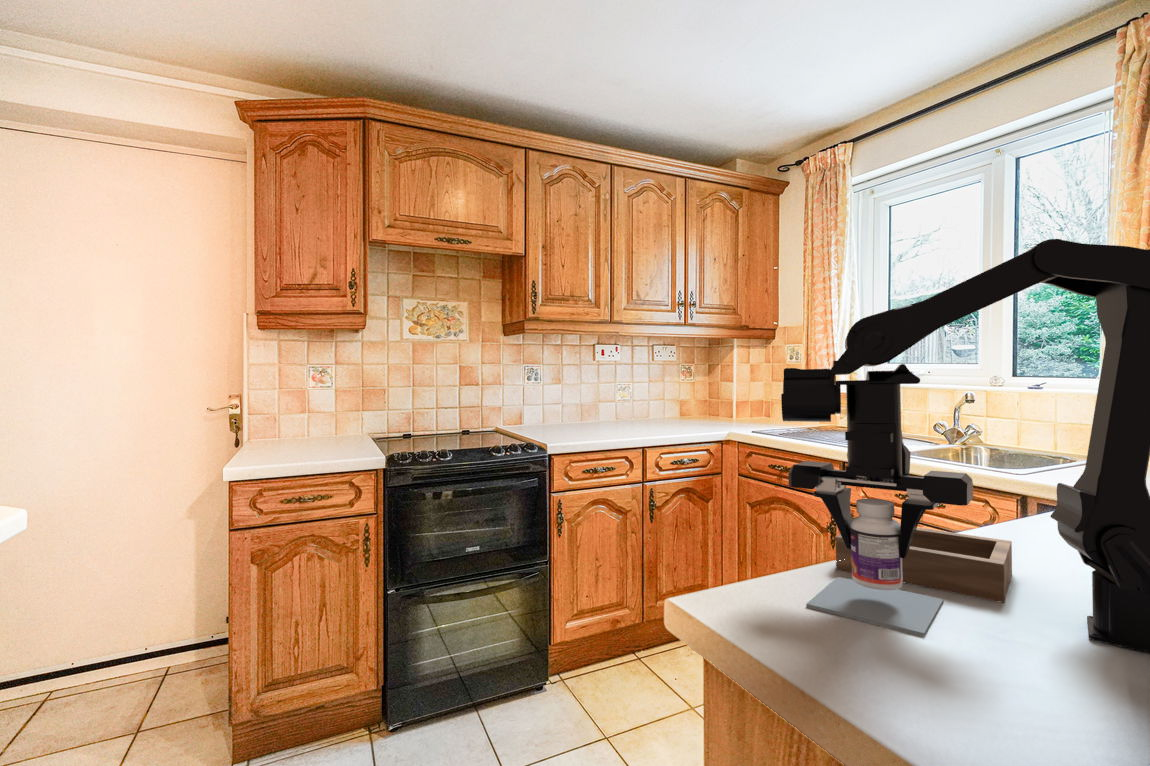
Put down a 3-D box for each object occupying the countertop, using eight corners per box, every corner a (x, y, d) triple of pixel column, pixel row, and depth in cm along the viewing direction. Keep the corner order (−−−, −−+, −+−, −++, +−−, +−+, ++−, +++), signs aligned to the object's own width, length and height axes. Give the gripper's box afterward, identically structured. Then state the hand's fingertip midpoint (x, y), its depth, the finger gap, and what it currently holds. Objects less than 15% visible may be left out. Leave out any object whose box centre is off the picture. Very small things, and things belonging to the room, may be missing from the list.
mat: (924, 637, 57) (924, 633, 57) (806, 607, 65) (806, 603, 65) (943, 602, 66) (943, 599, 66) (837, 579, 74) (837, 576, 74)
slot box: (1004, 602, 66) (1003, 564, 66) (836, 568, 78) (835, 536, 79) (1012, 574, 76) (1011, 541, 76) (861, 548, 88) (860, 519, 88)
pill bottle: (857, 572, 69) (855, 495, 70) (906, 581, 66) (904, 500, 66) (846, 584, 65) (844, 502, 65) (898, 594, 62) (896, 508, 62)
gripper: (977, 421, 66) (980, 552, 65) (815, 417, 78) (817, 527, 78) (964, 427, 57) (968, 577, 57) (785, 421, 70) (788, 544, 70)
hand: (876, 552), depth 66 cm, fingers closed on pill bottle, 5 cm apart
